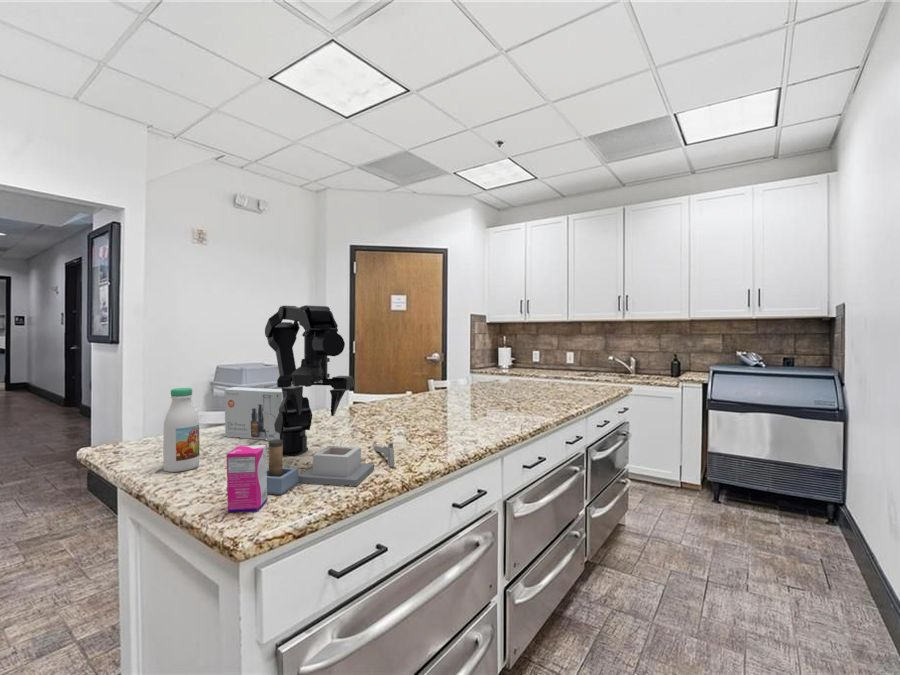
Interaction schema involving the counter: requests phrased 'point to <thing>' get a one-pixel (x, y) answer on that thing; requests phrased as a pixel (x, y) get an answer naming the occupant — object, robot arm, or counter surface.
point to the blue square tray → (282, 481)
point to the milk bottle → (181, 433)
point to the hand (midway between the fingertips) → (315, 415)
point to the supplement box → (246, 478)
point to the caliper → (386, 452)
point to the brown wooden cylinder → (275, 457)
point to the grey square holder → (337, 467)
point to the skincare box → (252, 412)
